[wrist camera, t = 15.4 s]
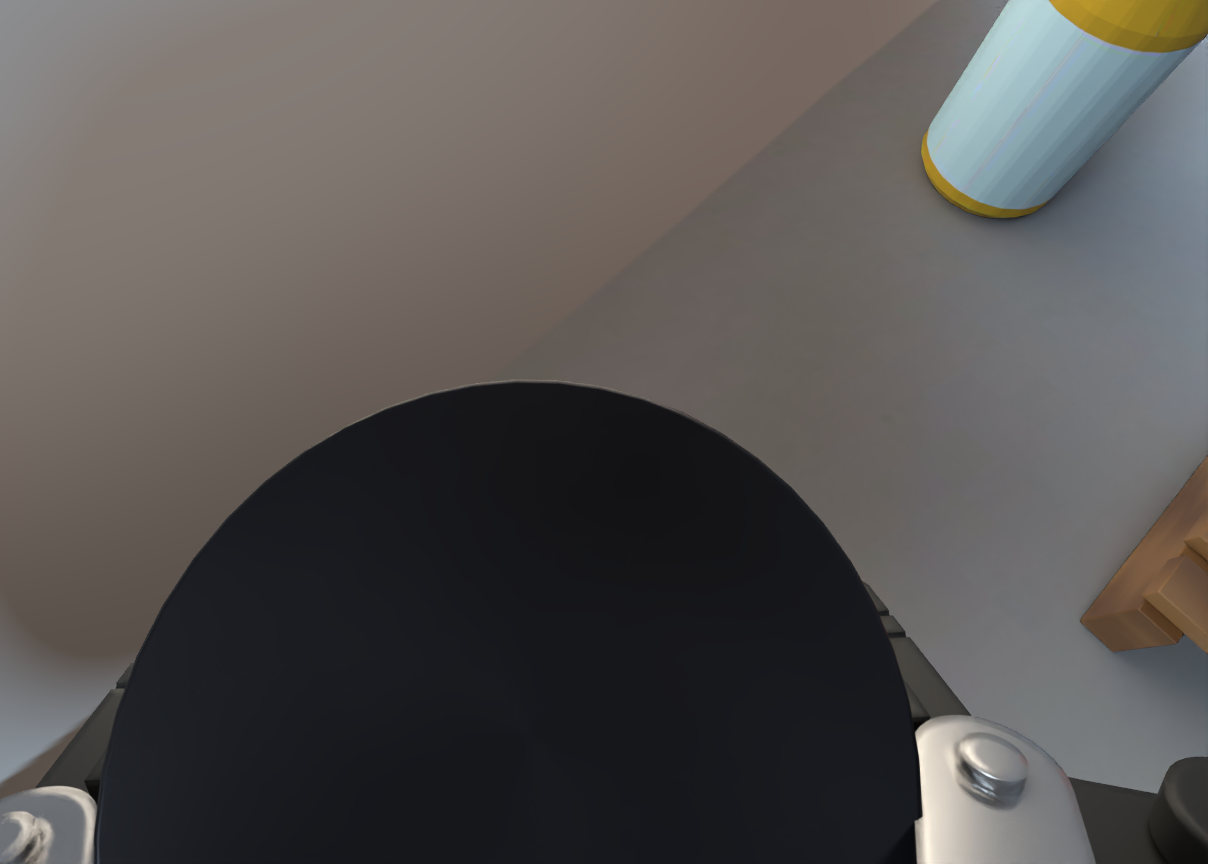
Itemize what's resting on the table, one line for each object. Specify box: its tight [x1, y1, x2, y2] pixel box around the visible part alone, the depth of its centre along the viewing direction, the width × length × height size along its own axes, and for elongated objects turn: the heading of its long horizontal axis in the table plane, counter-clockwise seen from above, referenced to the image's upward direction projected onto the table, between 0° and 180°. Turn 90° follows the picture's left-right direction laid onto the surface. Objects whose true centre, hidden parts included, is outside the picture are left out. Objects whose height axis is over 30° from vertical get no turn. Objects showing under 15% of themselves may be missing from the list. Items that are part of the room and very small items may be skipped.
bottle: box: [921, 0, 1208, 218], centre depth 29 cm, size 7×7×15 cm
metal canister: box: [94, 379, 923, 864], centre depth 9 cm, size 6×6×9 cm
